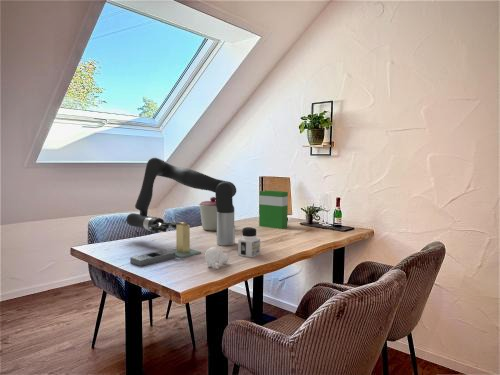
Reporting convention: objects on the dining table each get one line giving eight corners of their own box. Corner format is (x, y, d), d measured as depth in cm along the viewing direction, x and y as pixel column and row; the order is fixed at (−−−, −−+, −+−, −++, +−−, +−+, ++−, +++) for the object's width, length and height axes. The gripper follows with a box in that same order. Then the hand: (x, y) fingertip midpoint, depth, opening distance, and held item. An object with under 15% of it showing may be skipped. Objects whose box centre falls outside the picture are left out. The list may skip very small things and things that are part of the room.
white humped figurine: (203, 247, 150) (222, 244, 159) (202, 267, 150) (221, 263, 159) (214, 249, 146) (233, 246, 156) (213, 270, 146) (232, 266, 156)
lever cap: (183, 250, 176) (183, 221, 174) (189, 252, 172) (189, 222, 171) (176, 251, 173) (176, 222, 172) (182, 253, 169) (182, 223, 168)
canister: (211, 225, 245) (211, 194, 243) (232, 229, 234) (232, 196, 233) (192, 229, 230) (192, 197, 229) (214, 233, 220) (214, 199, 218)
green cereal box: (259, 226, 246) (259, 191, 244) (264, 224, 252) (265, 190, 250) (281, 229, 236) (282, 192, 234) (287, 227, 242) (287, 191, 240)
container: (251, 257, 166) (252, 230, 165) (237, 255, 170) (238, 228, 169) (260, 254, 173) (260, 227, 172) (246, 251, 177) (246, 225, 176)
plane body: (165, 254, 169) (165, 249, 169) (175, 258, 164) (175, 252, 164) (130, 262, 156) (130, 257, 156) (140, 266, 151) (140, 260, 151)
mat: (185, 249, 181) (185, 247, 181) (201, 253, 173) (201, 251, 173) (165, 253, 172) (165, 251, 172) (180, 258, 164) (180, 256, 164)
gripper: (141, 218, 182) (160, 222, 171) (165, 215, 192) (184, 219, 182) (141, 233, 182) (160, 238, 172) (165, 229, 193) (184, 234, 182)
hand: (173, 228), depth 177 cm, fingers open, 8 cm apart
